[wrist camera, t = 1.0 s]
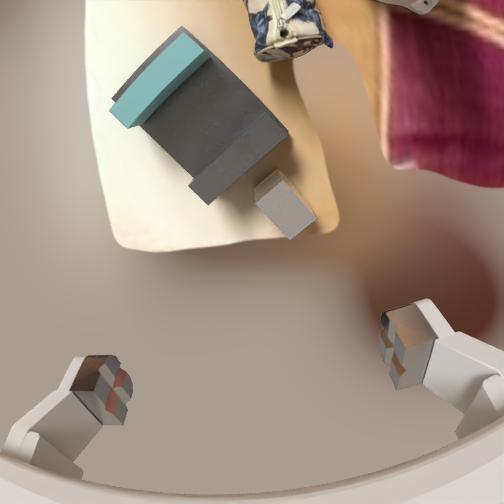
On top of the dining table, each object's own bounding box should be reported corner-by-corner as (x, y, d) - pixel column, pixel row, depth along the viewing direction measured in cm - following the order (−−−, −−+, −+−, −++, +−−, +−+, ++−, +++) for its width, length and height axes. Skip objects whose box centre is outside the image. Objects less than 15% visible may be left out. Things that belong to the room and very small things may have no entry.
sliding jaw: (192, 40, 27) (183, 32, 23) (210, 57, 29) (204, 50, 24) (126, 108, 31) (108, 110, 26) (142, 124, 32) (127, 128, 28)
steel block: (277, 167, 37) (282, 180, 32) (307, 201, 39) (316, 218, 34) (253, 188, 39) (255, 203, 33) (284, 220, 41) (289, 240, 35)
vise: (185, 29, 28) (171, 15, 22) (286, 129, 35) (294, 136, 29) (117, 98, 32) (92, 100, 26) (214, 192, 39) (208, 211, 32)
